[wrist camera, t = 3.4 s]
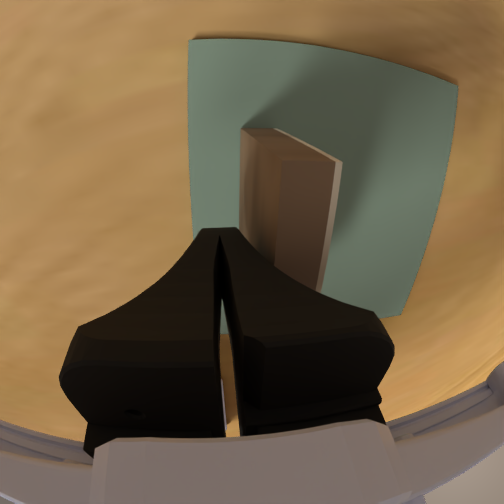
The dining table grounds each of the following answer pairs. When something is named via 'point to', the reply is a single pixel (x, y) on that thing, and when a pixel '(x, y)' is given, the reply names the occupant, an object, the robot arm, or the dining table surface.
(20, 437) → the robot arm
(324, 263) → the tile
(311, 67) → the mat
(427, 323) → the dining table surface
